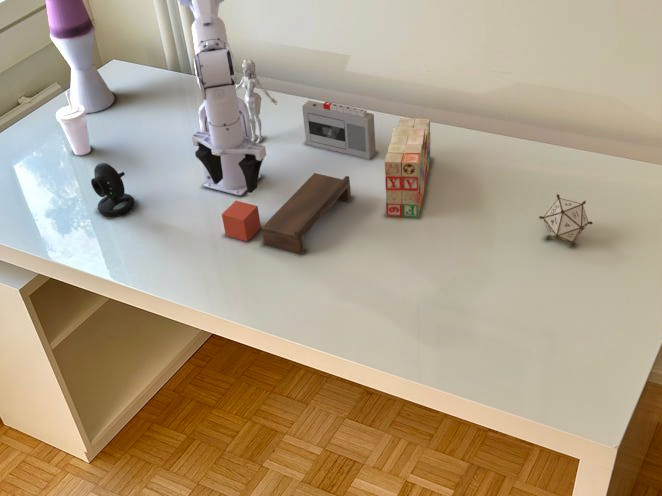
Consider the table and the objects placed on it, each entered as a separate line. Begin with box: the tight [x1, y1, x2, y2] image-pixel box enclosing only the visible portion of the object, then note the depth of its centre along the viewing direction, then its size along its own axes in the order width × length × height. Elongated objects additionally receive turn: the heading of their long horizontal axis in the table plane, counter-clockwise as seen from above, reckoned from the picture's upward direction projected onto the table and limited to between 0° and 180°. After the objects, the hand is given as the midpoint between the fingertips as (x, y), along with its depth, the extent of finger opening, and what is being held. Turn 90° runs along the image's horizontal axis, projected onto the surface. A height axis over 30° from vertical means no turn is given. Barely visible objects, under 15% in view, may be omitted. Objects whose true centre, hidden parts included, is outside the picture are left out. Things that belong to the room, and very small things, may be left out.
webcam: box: [90, 162, 135, 218], centre depth 175 cm, size 8×8×10 cm
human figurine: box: [235, 58, 278, 144], centre depth 187 cm, size 12×4×18 cm, turn 60°
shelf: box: [261, 172, 352, 255], centre depth 168 cm, size 8×20×5 cm, turn 151°
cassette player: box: [301, 100, 377, 160], centre depth 184 cm, size 16×3×10 cm, turn 59°
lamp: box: [45, 0, 115, 114], centre depth 199 cm, size 11×11×40 cm
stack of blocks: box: [384, 117, 431, 219], centre depth 171 cm, size 21×6×12 cm, turn 168°
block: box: [221, 200, 262, 242], centre depth 167 cm, size 5×5×5 cm
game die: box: [538, 193, 594, 247], centre depth 156 cm, size 9×8×10 cm
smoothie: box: [55, 90, 92, 156], centre depth 191 cm, size 6×6×14 cm
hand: (235, 185), depth 161 cm, fingers open, 7 cm apart
